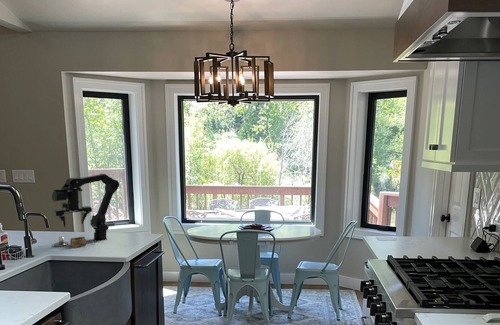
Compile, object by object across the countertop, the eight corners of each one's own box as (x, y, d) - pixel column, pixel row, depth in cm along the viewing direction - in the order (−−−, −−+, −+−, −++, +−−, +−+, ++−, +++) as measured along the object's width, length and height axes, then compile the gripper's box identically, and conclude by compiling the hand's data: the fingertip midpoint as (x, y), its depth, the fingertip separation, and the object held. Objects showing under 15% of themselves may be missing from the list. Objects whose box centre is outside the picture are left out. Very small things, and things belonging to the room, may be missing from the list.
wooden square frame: (83, 243, 179) (83, 236, 179) (85, 245, 173) (85, 239, 173) (70, 244, 175) (70, 238, 175) (72, 247, 169) (72, 241, 169)
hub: (67, 242, 178) (67, 234, 178) (68, 245, 173) (68, 237, 173) (53, 244, 174) (53, 236, 174) (54, 247, 168) (54, 239, 168)
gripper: (85, 196, 185) (86, 220, 186) (51, 199, 172) (51, 225, 172) (92, 198, 177) (92, 223, 178) (56, 201, 164) (56, 229, 165)
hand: (73, 225), depth 173 cm, fingers open, 9 cm apart
